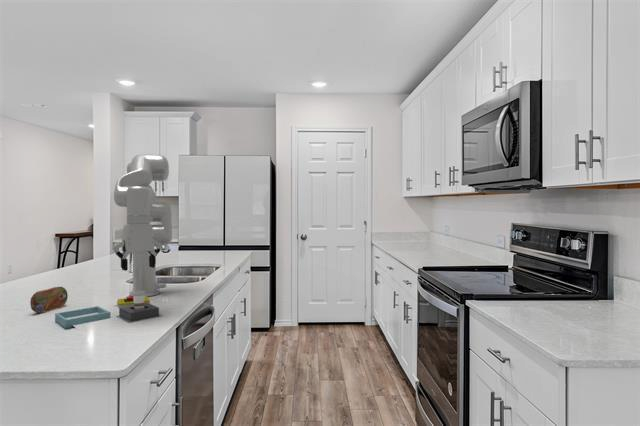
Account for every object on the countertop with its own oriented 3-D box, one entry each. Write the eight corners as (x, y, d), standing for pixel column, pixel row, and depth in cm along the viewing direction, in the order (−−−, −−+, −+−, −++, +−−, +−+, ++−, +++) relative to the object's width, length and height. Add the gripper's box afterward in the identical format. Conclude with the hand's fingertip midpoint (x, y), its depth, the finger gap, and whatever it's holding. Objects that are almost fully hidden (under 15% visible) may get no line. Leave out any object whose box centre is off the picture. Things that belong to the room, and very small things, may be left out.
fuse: (142, 313, 150) (142, 289, 150) (146, 315, 147) (146, 291, 147) (131, 316, 147) (131, 291, 147) (136, 318, 145) (135, 292, 144)
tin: (35, 315, 151) (35, 292, 151) (28, 315, 152) (28, 292, 152) (68, 305, 166) (68, 284, 166) (61, 305, 166) (61, 284, 166)
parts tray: (98, 314, 153) (98, 306, 153) (110, 320, 145) (110, 312, 145) (55, 321, 143) (55, 313, 143) (65, 329, 135) (65, 320, 135)
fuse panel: (148, 312, 156) (148, 301, 156) (162, 318, 148) (162, 307, 147) (115, 318, 147) (115, 307, 147) (128, 325, 139) (128, 314, 139)
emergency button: (113, 296, 165) (152, 292, 172) (113, 307, 165) (152, 302, 172) (114, 301, 157) (155, 297, 164) (114, 312, 157) (155, 307, 164)
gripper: (157, 220, 155) (157, 265, 155) (108, 221, 142) (109, 270, 143) (166, 220, 150) (166, 267, 150) (117, 221, 137) (117, 272, 138)
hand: (138, 268), depth 146 cm, fingers open, 9 cm apart
